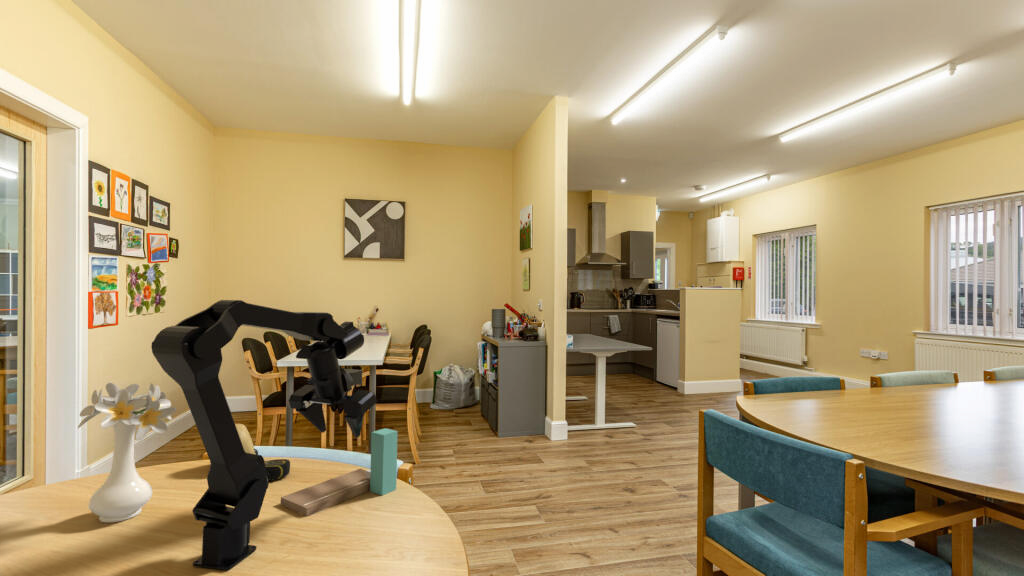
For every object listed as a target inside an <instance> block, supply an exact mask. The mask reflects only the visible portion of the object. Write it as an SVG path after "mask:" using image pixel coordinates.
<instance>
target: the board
mask: <svg viewBox="0 0 1024 576" xmlns="http://www.w3.org/2000/svg"><path fill="white" fill-rule="evenodd" d="M366 471H367V470H366V469H362V468H359V469H355V470H352V471H350V472H347V473H345V474H340V475H339V476H337V477H334V478H331V479H330V478H329V479H327V480H325V481H322V482H319V483H317V484H313V485H311V486H308V487H305V488H302V489H300V490H297V491H294V492H291V493H289V494H285V495H283V496H281V497H280V506H282V507H285V508H287V509H289V510H292V511H294V512H296V513H298V514H300V515H303V516H306V517H308V516H312V515H313V514H316V513H318V512H321V511H323V510H325V509H327V508H330V507H333V506H334V505H338V504H339V503H343V502H345V501H346V500H349V499H351V498H354V497H356V496H359V495H361V494H364V493H366V492H368V491H369V492H370V479H369V478H366Z"/></svg>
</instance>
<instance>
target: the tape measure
mask: <svg viewBox="0 0 1024 576" xmlns="http://www.w3.org/2000/svg"><path fill="white" fill-rule="evenodd" d="M264 462H265V467H266V470H267V471H268V472H269V473H270V475H269V476H267V478H268V481H274V480H275V479H277V480H280V479H283V478H285V477H287V476H288V475H289V474H290V470H291V461H290V460H289V459H287V458H285V459H283V458H282V459H281V458H280V459H279V458H278V459H272V460H264ZM275 481H276V480H275Z"/></svg>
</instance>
